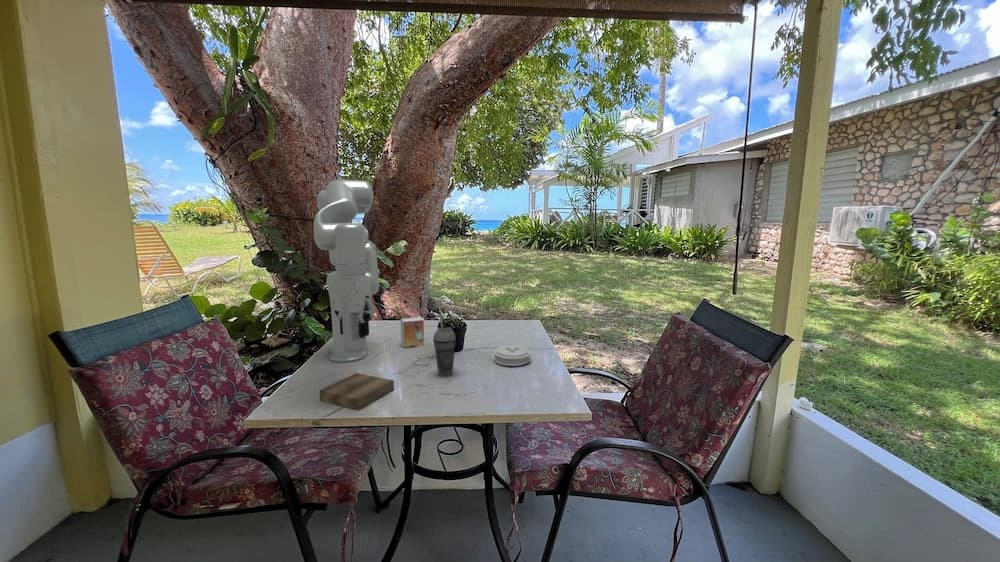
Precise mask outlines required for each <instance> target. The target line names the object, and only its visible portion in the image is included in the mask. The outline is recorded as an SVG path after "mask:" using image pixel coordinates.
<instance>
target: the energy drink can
mask: <svg viewBox="0 0 1000 562" xmlns="http://www.w3.org/2000/svg"><path fill="white" fill-rule="evenodd" d="M363 316H365V315H364V313H363ZM359 323H361V322H360V319H359V316H358V313H351V312H349V305H347V304H344V303H343V305H342V324H343V341H344V349H345V350H346V352H348V353H358V352H362V351H364V350H366V348H367V342H368V341H367V336H365V337H360V336H359Z"/></svg>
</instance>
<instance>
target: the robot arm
mask: <svg viewBox="0 0 1000 562" xmlns="http://www.w3.org/2000/svg"><path fill="white" fill-rule="evenodd" d="M316 202H317V208H318V211H317V213H316V214H315V216H314V220H313V236H314V242H315V245H316V247H317V248H319V249H320V250H323V251H328V256H329V261H330V263H331V265H333V267H334V269H335V270H334V271H331V272H330V273H328V275H326V287H327V291H328V296H329V302H330V310H331V311H330V313H331V325H332V341H331V342H330V343H329V345H327V346H326V348H327V349H328V350H331V353H330V354H329V357H328V358H329V360H331V361H332V362H336V363H349V362H355V361H358V360H361V359H363V358H365V357H366V356H367V350H366V349H365V350H364V351H362V352H358V353H348V352H346V350H345V349H344V341H343V324H342V305H343V303H344V304H347V305H349V312H351V313H358V316H359V319H360V322H361V323H359V336H360V337H365V336H366V337H367V336H369V335H370V323H369V322H370V321H371V320H372V318H373V317H374V315H375V314H376V313H377V311H378V309H377V307H376V306H375V304H374V303H373V302H372V301H373V299H372V295H373V296H374V295H375V294H377V293H378V292H379V290H380V278H379V267H378V255H377V249H376V246H375V244H374V243H373V241H371V240H369V237H370V236H369V231H368V229H367V228H366V226H365V225H363V224H362V223H360V222H359V223H357V222H352V221H353V220H354V219H355V218H356V217H357V215H361V214H362V215H363V214H367V213H368V212H369V211H370V209H371V207H372V205H373V202H374V191H373V188H372V186H371V184H370V183H369V182H368V181H366V180H362V179H361V180H360V179H359V180H358V179H335V180H332V181H330V182H329V183H328V184H327V186H326V189H323V190H321V191H319V192H318V193H317V195H316ZM363 313H364V315H365V316H363Z"/></svg>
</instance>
